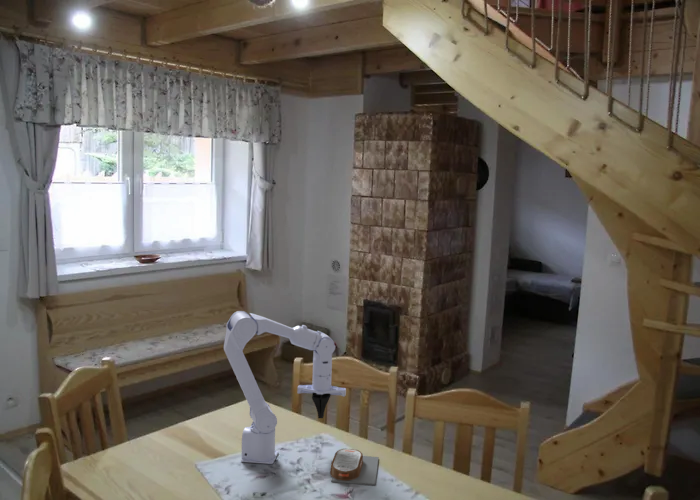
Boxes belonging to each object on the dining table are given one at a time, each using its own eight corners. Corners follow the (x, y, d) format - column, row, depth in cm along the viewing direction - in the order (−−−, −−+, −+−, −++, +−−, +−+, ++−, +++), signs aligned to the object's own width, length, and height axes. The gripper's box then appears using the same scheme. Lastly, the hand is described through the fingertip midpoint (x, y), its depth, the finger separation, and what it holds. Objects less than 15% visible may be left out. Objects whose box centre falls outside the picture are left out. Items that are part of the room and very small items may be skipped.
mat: (331, 481, 163) (331, 480, 163) (338, 455, 179) (338, 454, 179) (375, 485, 162) (375, 483, 162) (378, 458, 178) (378, 457, 178)
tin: (327, 479, 164) (357, 484, 163) (328, 468, 163) (359, 473, 162) (336, 454, 179) (364, 459, 177) (337, 444, 178) (365, 449, 177)
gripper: (295, 376, 177) (294, 420, 178) (344, 379, 175) (343, 423, 177) (300, 369, 184) (299, 411, 185) (347, 371, 182) (345, 414, 184)
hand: (321, 417), depth 182 cm, fingers closed
